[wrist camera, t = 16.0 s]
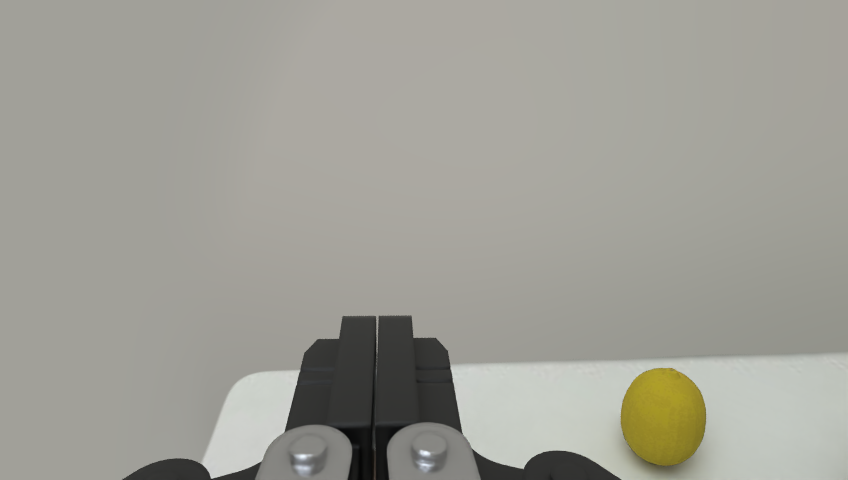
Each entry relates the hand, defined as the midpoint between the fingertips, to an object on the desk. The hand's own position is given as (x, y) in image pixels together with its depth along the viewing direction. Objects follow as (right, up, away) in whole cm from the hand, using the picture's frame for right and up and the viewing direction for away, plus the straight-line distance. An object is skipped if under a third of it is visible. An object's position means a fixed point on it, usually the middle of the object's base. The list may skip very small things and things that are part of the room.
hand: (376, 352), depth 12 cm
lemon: (+18, -14, +29) cm, 37 cm away
